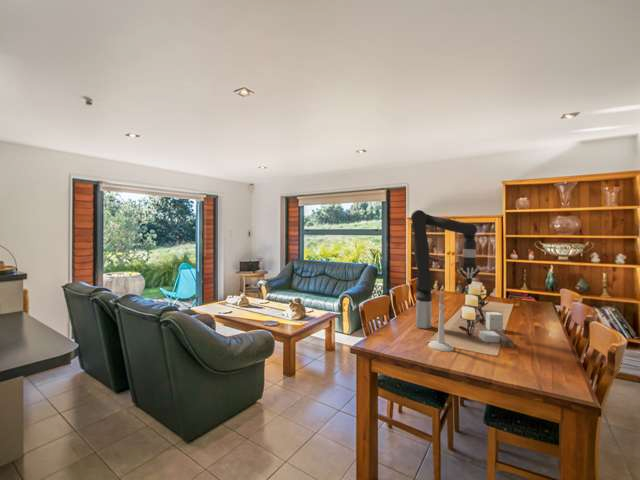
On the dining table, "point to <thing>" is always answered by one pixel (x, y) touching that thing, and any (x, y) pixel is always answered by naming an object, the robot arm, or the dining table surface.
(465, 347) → the dining table surface
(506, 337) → the brown long bar
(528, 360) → the dining table surface
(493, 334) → the block
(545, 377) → the dining table surface
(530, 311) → the dining table surface
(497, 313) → the small box
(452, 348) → the candlestick
